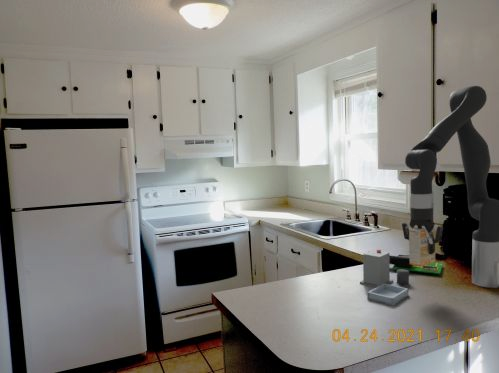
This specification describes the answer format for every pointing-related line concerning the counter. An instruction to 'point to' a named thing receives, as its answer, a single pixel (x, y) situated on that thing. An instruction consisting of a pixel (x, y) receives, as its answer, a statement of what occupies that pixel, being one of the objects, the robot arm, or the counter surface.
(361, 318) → the counter surface
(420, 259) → the supplement box
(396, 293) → the tray
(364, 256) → the control box
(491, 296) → the counter surface
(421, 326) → the counter surface
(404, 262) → the electronic board model
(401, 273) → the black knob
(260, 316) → the counter surface
